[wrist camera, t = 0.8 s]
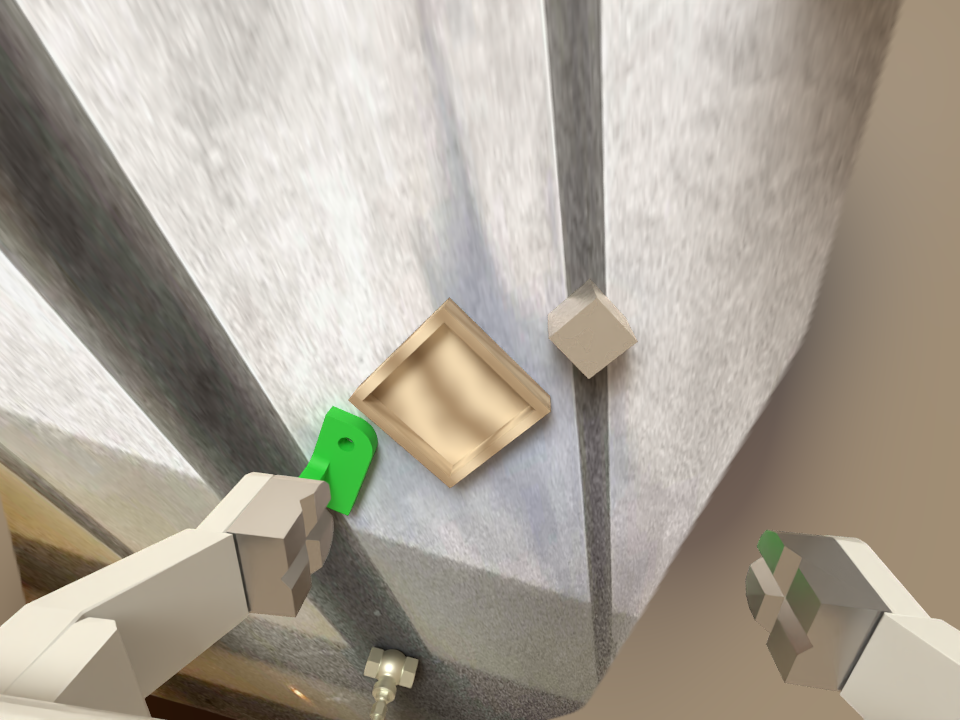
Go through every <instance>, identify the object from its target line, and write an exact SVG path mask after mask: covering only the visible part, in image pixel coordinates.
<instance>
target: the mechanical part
mask: <svg viewBox="0 0 960 720" xmlns="http://www.w3.org/2000/svg"><path fill="white" fill-rule="evenodd" d="M345 437H346V438H349V439H351V440H352V441H353V442H350V441H348V440H347V439H346V438H345ZM377 444H378V440H377V435H376V433H375V431H374V429H373V428H372V426H371V425H370V424H369V423H368V422H366V421H365V420H363V419H362V418H360V417H357V416H355V415H353V414H350V413H348V412H346V411H343V410H341V409H339V408H336V407H334V406H333V407H332V408H331V409H330V410H329V412H328V413H327V414H326V416H325V419H324V422H323V425H322V428H321V431H320V434H319V437H318V441H317V444H316V447H315V450H314V453H313V455H312V458H311V460H310V462H309V463H308V465H307V467H306V468H305V469H304V471H303V472H302V473H301V475H300V476H299V478H305V479H313V480H320V481H325V482H327V483H328V484H329V488H330V495H331V499H330V501H329V503H328V504H327V506H326V507H328V508H330V509H333V510H335V511H338V512H340V513H342V514H345V515H347V516H348V515H349V513H350V511H351V509H352V507H353V506H354V503H355V501H356V498H357V496H358V493H359V491H360V488H361V486H362V483H363V481H364V478H365V476H366V473H367V471H368V468H369V466H370V463H371V461H372V458H373V456H374V453H375V451H376V448H377Z"/></svg>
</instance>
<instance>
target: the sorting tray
mask: <svg viewBox="0 0 960 720" xmlns="http://www.w3.org/2000/svg"><path fill="white" fill-rule="evenodd" d="M348 401H350V402H351V403H352V404H353V405H354V406H355V407H357V408H358V409H359V410H360V411H361V412H362V413H363V414H365V415H366V416H367V417H368V418H369V419H370V420H372V421H373V422H374V423H375V424H376V425H377V426H379V427H380V428H381V429H382V430H383V431H384V432H386V433H387V434H388V435H389V436H390V437H391V438H392V439H394V440H395V441H396V442H397V443H398V444H399V445H401V446H402V447H403V448H404V449H405V450H406V451H408V452H409V453H410V454H411V455H412V456H413V457H414V458H416V459H417V460H418V461H419V462H420V463H421V464H423V465H424V466H425V467H426V468H427V469H428V470H430V471H431V472H432V473H433V474H434V475H435V476H437V477H438V478H439V479H440V480H441V481H442V482H443V483H445V484H446V485H447V486H448V487H449V488H451V487H452V486H454V485H455V484H456V483H458V482H459V481H460V480H462V479H463V478H464V477H466V476H467V475H468V474H469V473H471V472H472V471H473V470H475V469H476V468H477V467H479V466H480V465H481V464H482V463H484V462H485V461H486V460H488V459H489V458H490V457H492V456H493V455H494V454H496V453H497V452H498V451H499V450H501V449H502V448H503V447H505V446H506V445H507V444H509V443H510V442H511V441H513V440H514V439H515V438H516V437H518V436H519V435H520V434H522V433H523V432H524V431H526V430H527V429H528V428H530V427H531V426H532V425H533V424H535V423H536V422H537V421H539V420H540V419H541V418H543V417H544V416H545V415H547V414H548V413H549V412H550V411H551V405H550V396H549V395H548V394H547V393H546V392H545V391H544V390H543V389H542V388H541V387H540V386H539V385H538V384H537V383H536V382H535V381H534V380H533V379H532V378H531V377H530V376H529V375H528V374H527V373H526V372H525V371H524V370H523V369H522V368H521V367H520V366H519V365H518V364H517V363H516V362H515V361H514V360H513V359H512V358H511V357H510V356H509V355H508V354H507V353H506V352H505V351H504V350H503V349H502V348H500V347H499V346H498V345H497V344H496V343H495V342H494V341H493V340H492V339H491V338H490V337H489V336H488V335H487V334H486V333H485V332H484V331H483V330H482V329H481V328H480V327H479V326H478V325H477V324H476V323H475V322H474V321H473V320H472V319H471V318H470V317H469V316H468V315H467V314H466V313H465V312H464V311H463V310H462V309H461V308H460V307H459V306H458V305H457V304H456V303H455V302H454V301H453V300H452V299H450V298H448V299H447V300H446V301H445V302H444V303H443V304H442V305H441V306H440V307H439V308H438V309H437V310H436V311H435V312H434V313H433V314H432V315H431V316H430V317H429V318H428V319H427V320H426V321H425V322H424V323H423V324H422V325H421V326H420V327H419V328H418V329H417V330H416V331H415V332H414V333H413V334H412V335H411V336H410V337H409V338H408V339H407V340H406V341H405V342H404V343H402V344H401V345H400V346H399V347H398V348H397V349H396V350H395V351H394V352H393V353H392V354H391V355H390V356H389V357H388V358H387V359H386V360H385V361H384V362H383V363H382V364H381V365H380V366H379V367H378V368H377V369H376V370H375V371H374V372H373V373H372V374H371V375H370V376H369V377H368V378H367V379H366V380H365V381H364V382H363V383H362V384H361V385H360V386H359V387H358V388H357V389H356V391H355V392H354V393H353V395H352V396H351V397H350V399H349V400H348Z"/></svg>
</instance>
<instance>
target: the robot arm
mask: <svg viewBox="0 0 960 720" xmlns="http://www.w3.org/2000/svg"><path fill="white" fill-rule="evenodd" d="M330 499H331V495H330V488H329V484H328V483H327V482H325V481H320V480H313V479H305V478H298V477H290V476H283V475H272V474H264V473H257V472H252V473H249V474H246V475H245V476H244V477H243V478H242V479H241V480H240V481H239V482H238V484H237V485H236V486H235V487H234V488H233V489H232V490H231V491H230V492H229V493H228V494H227V496H226V497H225V498H224V499H223V500H222V501H221V502H220V503H219V504H218V505H217V506H216V508H215V509H214V510H213V511H212V512H211V513H210V514H209V515H208V516H207V517H206V518H205V519H204V521H203V522H202V523H201V524H200V525H199V526H198V527H197V528H196V529H185V530H183V531H181V532H179V533H177V534H175V535H173V536H171V537H168V538H166V539H164V540H162V541H160V542H158V543H156V544H154V545H151V546H149V547H147V548H145V549H143V550H141V551H139V552H137V553H134V554H132V555H130V556H128V557H126V558H124V559H122V560H120V561H118V562H115V563H113V564H111V565H109V566H107V567H105V568H103V569H101V570H98V571H96V572H94V573H92V574H90V575H88V576H86V577H84V578H81V579H79V580H77V581H75V582H73V583H71V584H69V585H67V586H64V587H62V588H60V589H58V590H56V591H54V592H52V593H50V594H48V595H45V596H43V597H41V598H39V599H37V600H35V601H33V602H31V603H28V604H26V605H25V606H24V607H22V608H21V610H19V611H18V612H17V613H16V614H14V615H13V616H12V617H11V618H10V619H9V620H8V621H6V622H5V623H4V624H3V625H2V626H1V627H0V720H163V719H156V718H151V715H150V713H149V710H148V707H147V705H146V702H145V699H144V698H145V697H147V696H148V695H149V694H151V693H152V692H153V691H154V690H156V689H157V688H158V687H159V686H161V685H162V684H163V683H164V682H166V681H167V680H168V679H169V678H171V677H172V676H173V675H175V674H176V673H177V672H178V671H180V670H181V669H182V668H183V667H185V666H186V665H187V664H188V663H190V662H191V661H192V660H193V659H195V658H196V657H197V656H199V655H200V654H201V653H202V652H204V651H205V650H206V649H207V648H209V647H210V646H211V645H212V644H214V643H215V642H216V641H217V640H219V639H220V638H221V637H223V636H224V635H225V634H226V633H228V632H229V631H230V630H231V629H233V628H234V627H235V626H236V625H238V624H239V623H240V622H241V621H243V620H244V619H245V618H247V617H248V616H249V613H258V614H268V615H277V616H287V617H296V616H297V614H298V612H299V610H300V608H301V606H302V604H303V602H304V600H305V599H306V597H307V595H308V593H309V591H310V589H311V587H312V582H311V574H312V573H313V572H315V571H316V570H318V569H319V568H321V567H322V566H323V564H324V562H325V560H326V558H327V556H328V554H329V550H330V546H331V543H332V539H333V528H334V526H333V516H332V515H331V514H330V513H329V512H328V511H327V509H326V506H327V504H328V503H329V501H330ZM757 548H758V549H759V551H760V553H761V555H762V557H761V558H760V559H758V560H757V561H755V562H754V563H753V564H751V565H750V567H749V570H748V573H747V577H746V597H747V601H748V604H749V608H750V610H751V613H752V615H753V617H754V619H755V621H756V622H757V623H758V624H760V625H761V626H762V627H763V628H765V630H766V631H768V632H769V633H770V635H769V638H768V641H767V644H766V645H767V647H768V649H769V651H770V653H771V655H772V657H773V659H774V662H775V664H776V666H777V668H778V670H779V672H780V674H781V676H782V678H783V680H784V682H785V683H788V684H795V685H801V686H807V687H813V688H819V689H825V690H832V691H838V692H841V693H840V695H841V696H842V697H843V698H844V699H845V700H846V701H847V702H848V703H849V704H850V705H851V706H852V707H853V708H854V709H855V710H856V711H857V712H858V713H859V714H860V715H861V716H862V717H863V718H864V719H865V720H960V631H959V630H957V629H955V628H954V627H952V626H951V625H949V624H948V623H946V622H944V621H943V620H940V619H933V618H930V617H929V616H928V614H927V613H926V612H925V611H924V610H923V609H922V607H921V606H920V605H919V604H918V603H917V602H916V601H915V599H914V598H913V597H912V596H911V595H910V593H909V592H908V591H907V590H906V589H905V588H904V587H903V585H902V584H901V583H900V582H899V581H898V579H897V578H896V577H895V576H894V575H893V574H892V572H891V571H890V570H889V569H888V568H887V567H886V565H885V564H884V563H883V562H882V561H881V560H880V558H878V556H877V555H876V554H875V553H874V551H873V550H872V549H871V548H870V547H869V546H868V545H867V544H866V543H865V542H863V541H861V540H860V539H858V538H851V537H840V536H828V535H827V536H820V535H812V534H802V533H793V532H783V531H773V530H766V531H765V532H764V533H763V534H762V535H761V537H760V540H759V542H758V545H757Z"/></svg>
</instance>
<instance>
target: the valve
mask: <svg viewBox="0 0 960 720" xmlns="http://www.w3.org/2000/svg"><path fill="white" fill-rule="evenodd" d="M417 665H418V659H415V658H411V657H406V656H405V655H404V654H403V653H402V652H400V651H398V650H395V649H389V650H386V651H384V650H382V649H379V648H375V647H372V649H371V651H370V654H369V657H368V660H367V664H366V667H365V671H364V675H365V676H369V677H372V678H377V679H378V681H377V682H376V683H375V685H374V688H373V692H372V694H373V696H374V698H375V700H376V703H374V704H373V706H372V709H371V712H370V717H371V719H372V720H384V719H385V716H386V712H387V706H386V704H388V703H389V702H391V701H393V700H394V698H395V695H396V691H397V689H396V686H395V685H398V684H399V685H401V686H405V687H408V688H411V687H412V684H413V681H414V677H415V673H416V669H417Z"/></svg>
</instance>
